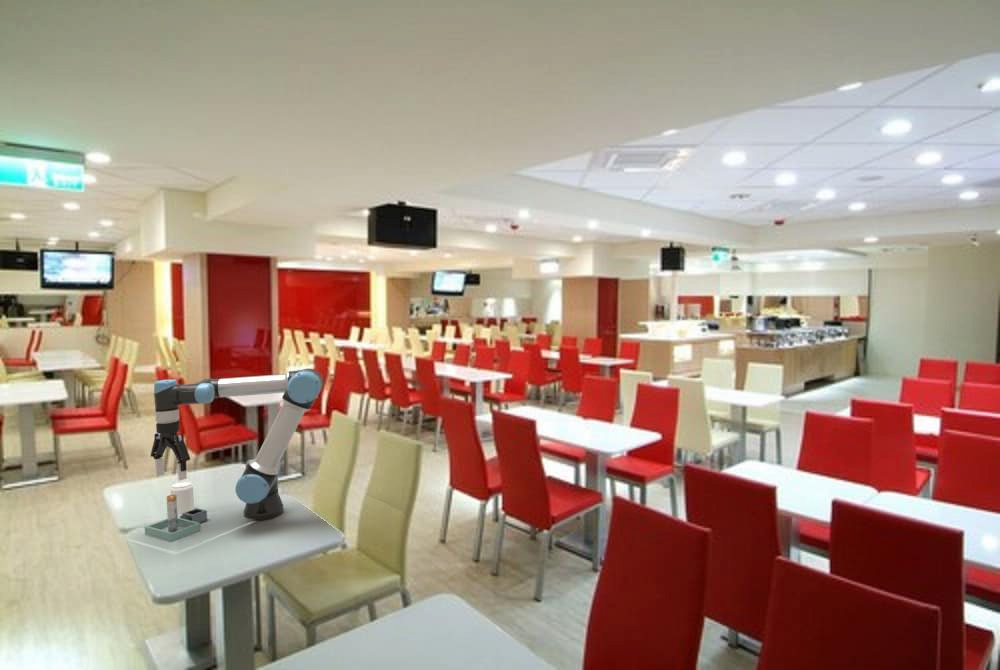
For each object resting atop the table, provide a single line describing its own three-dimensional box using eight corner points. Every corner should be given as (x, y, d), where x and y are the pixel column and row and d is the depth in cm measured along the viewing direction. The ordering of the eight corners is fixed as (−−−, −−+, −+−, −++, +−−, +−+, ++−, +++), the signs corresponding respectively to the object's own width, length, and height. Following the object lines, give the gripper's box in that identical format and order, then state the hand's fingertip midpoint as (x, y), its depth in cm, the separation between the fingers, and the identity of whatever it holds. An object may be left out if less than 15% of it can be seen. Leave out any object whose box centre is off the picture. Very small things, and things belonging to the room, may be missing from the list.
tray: (200, 532, 203) (200, 523, 203) (171, 544, 194) (171, 533, 194) (174, 526, 211) (173, 516, 211) (145, 536, 201) (144, 526, 201)
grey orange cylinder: (179, 531, 203) (178, 495, 202) (171, 535, 200) (169, 498, 199) (174, 530, 204) (173, 494, 204) (166, 533, 201) (164, 496, 201)
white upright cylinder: (198, 509, 229) (197, 481, 228) (185, 516, 221) (184, 487, 220) (180, 508, 230) (179, 481, 229) (167, 516, 221) (165, 487, 221)
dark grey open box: (211, 522, 214) (210, 509, 214) (191, 529, 207) (191, 516, 206) (192, 517, 219) (191, 505, 219) (172, 524, 212) (171, 512, 212)
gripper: (198, 421, 198) (202, 478, 199) (158, 417, 209) (161, 471, 210) (178, 425, 191) (182, 484, 192) (137, 421, 203) (141, 476, 204)
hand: (171, 477), depth 201 cm, fingers open, 13 cm apart
